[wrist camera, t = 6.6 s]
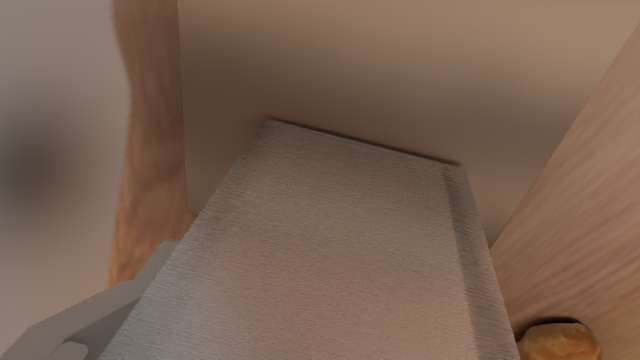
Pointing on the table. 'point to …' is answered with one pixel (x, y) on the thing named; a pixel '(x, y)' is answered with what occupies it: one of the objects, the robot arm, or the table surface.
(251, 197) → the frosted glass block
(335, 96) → the step block
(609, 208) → the table surface
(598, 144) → the table surface
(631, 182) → the table surface
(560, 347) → the pastry
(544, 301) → the table surface
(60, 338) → the robot arm
